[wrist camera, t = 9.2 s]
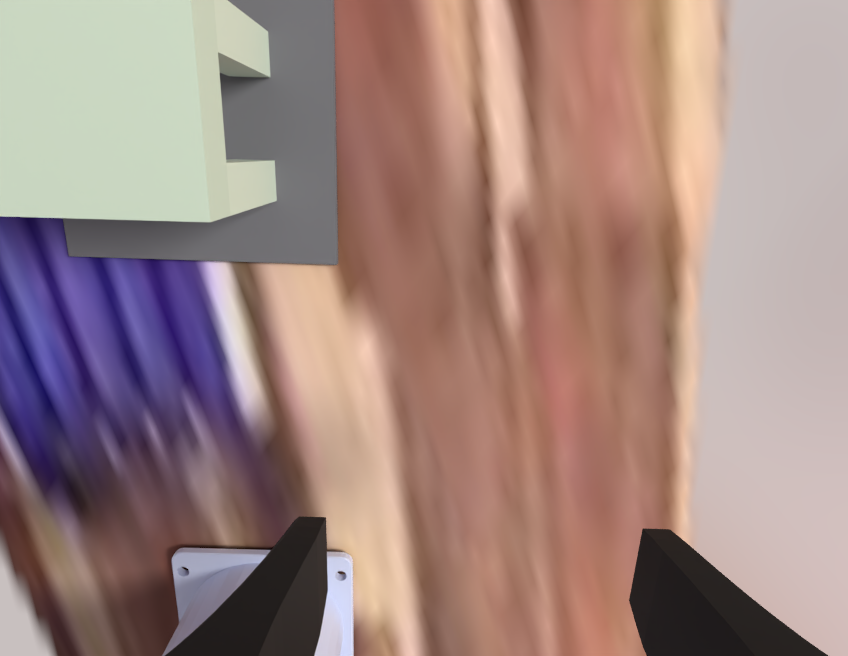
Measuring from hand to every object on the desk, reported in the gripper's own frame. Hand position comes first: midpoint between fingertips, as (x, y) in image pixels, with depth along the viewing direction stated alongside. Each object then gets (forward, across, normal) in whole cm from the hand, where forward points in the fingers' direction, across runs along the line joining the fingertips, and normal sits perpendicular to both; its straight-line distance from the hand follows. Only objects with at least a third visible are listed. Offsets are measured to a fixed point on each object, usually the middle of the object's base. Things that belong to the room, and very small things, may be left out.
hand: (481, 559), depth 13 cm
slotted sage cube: (+10, +10, -10) cm, 17 cm away
